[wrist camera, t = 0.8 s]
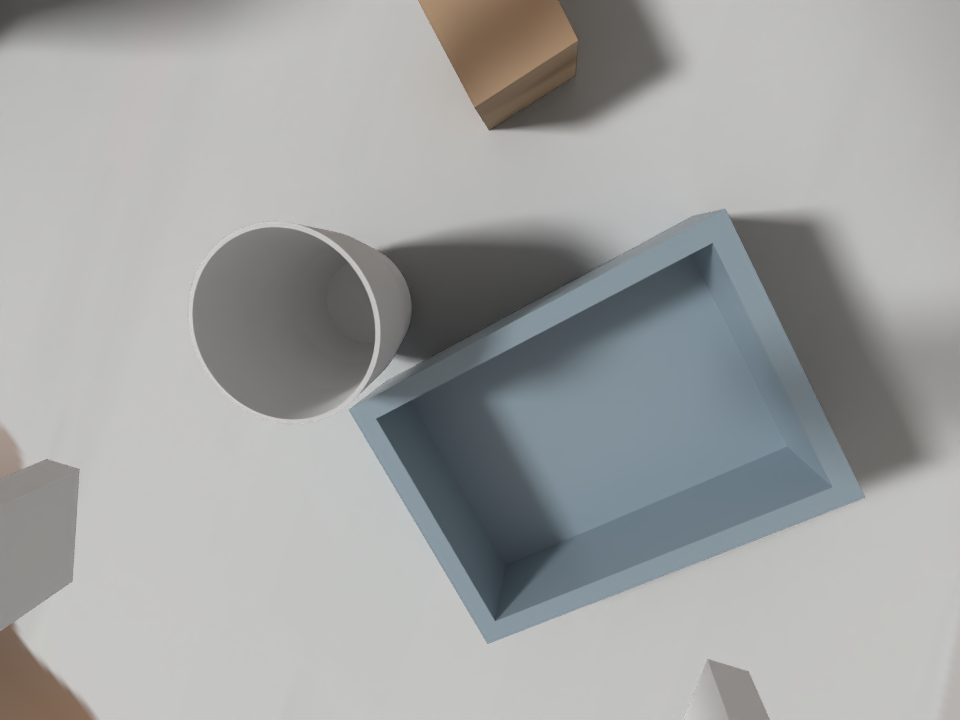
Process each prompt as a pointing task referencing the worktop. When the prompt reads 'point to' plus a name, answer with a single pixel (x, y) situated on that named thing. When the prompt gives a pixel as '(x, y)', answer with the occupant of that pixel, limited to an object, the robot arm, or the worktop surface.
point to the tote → (609, 432)
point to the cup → (296, 319)
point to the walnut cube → (505, 50)
